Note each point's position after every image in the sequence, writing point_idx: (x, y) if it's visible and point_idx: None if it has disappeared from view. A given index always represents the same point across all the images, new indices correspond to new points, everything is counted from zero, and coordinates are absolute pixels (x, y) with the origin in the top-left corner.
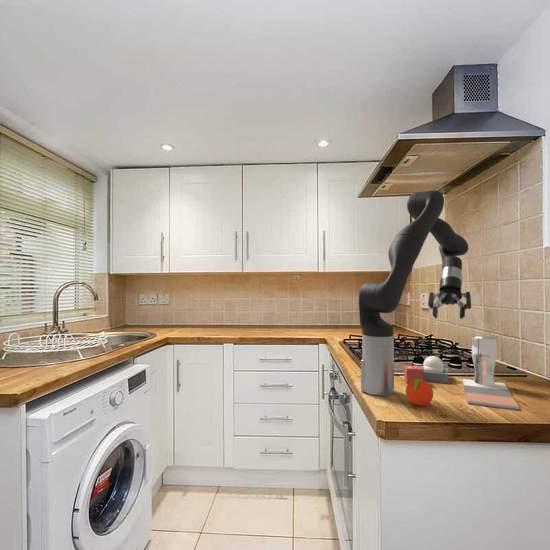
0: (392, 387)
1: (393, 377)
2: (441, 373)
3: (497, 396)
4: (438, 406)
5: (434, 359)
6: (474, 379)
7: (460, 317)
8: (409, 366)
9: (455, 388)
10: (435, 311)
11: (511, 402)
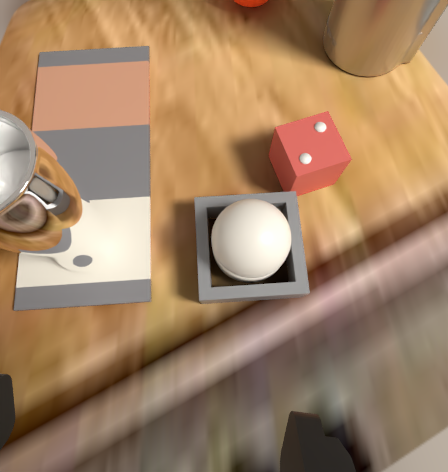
0: (328, 19)
1: (335, 2)
2: (217, 198)
3: (70, 123)
4: (211, 8)
5: (245, 204)
6: (111, 227)
7: (7, 392)
8: (327, 149)
9: (175, 164)
10: (317, 467)
11: (47, 90)
